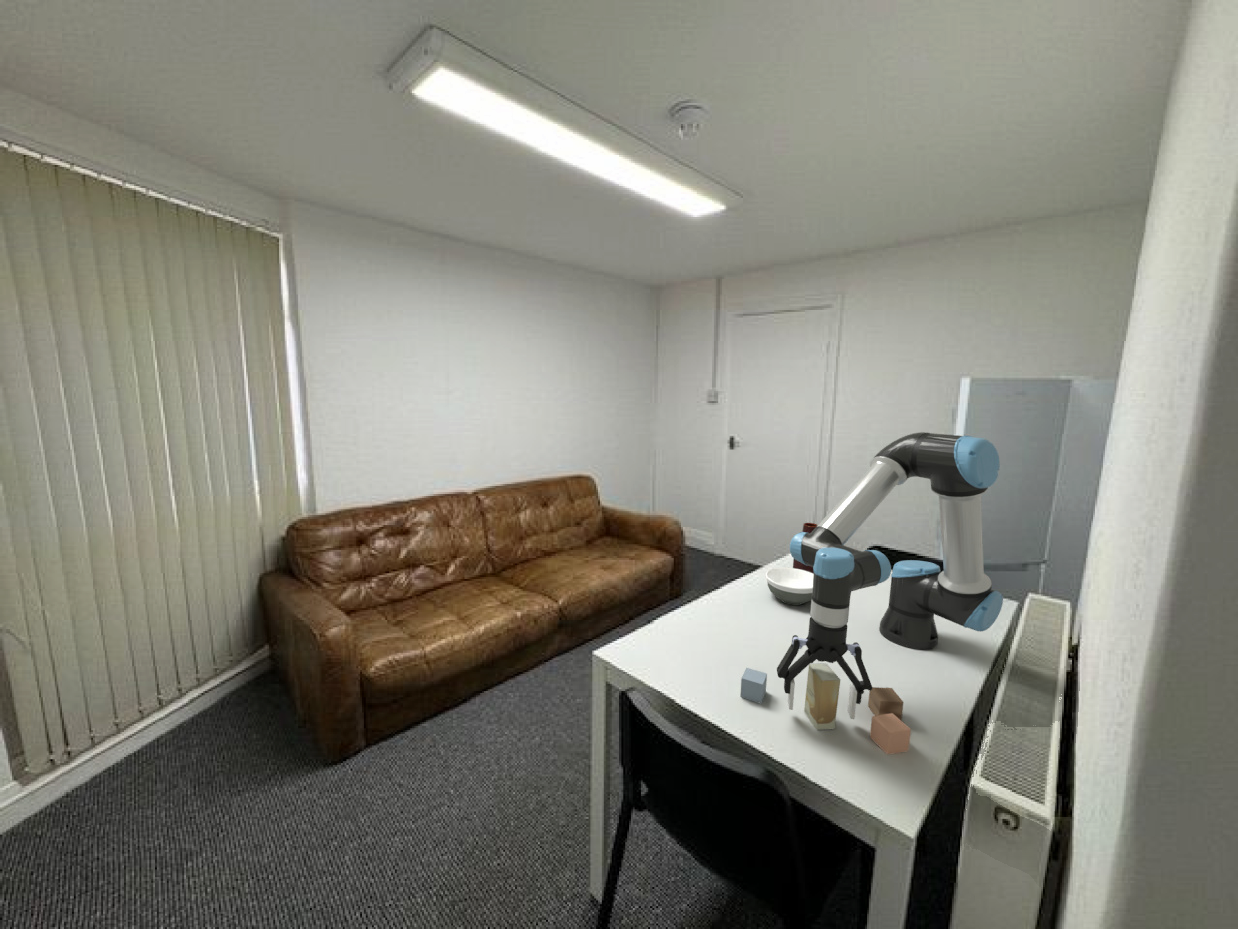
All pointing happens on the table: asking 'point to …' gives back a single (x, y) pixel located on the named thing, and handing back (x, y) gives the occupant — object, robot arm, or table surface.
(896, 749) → the terracotta cube
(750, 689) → the slate cube
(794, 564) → the vase
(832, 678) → the skincare box
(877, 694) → the walnut cube
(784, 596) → the bowl
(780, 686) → the table surface
